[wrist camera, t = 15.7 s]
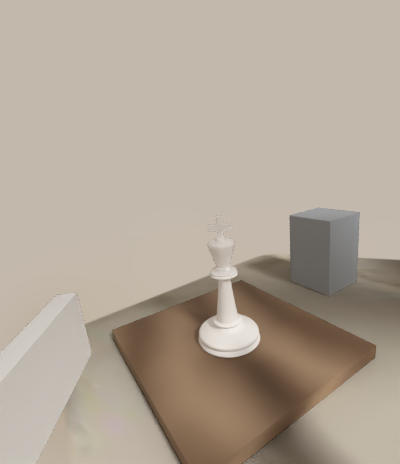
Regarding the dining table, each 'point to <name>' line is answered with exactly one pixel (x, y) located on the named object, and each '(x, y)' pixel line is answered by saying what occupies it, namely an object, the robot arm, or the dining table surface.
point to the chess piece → (226, 305)
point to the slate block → (324, 249)
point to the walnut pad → (236, 373)
